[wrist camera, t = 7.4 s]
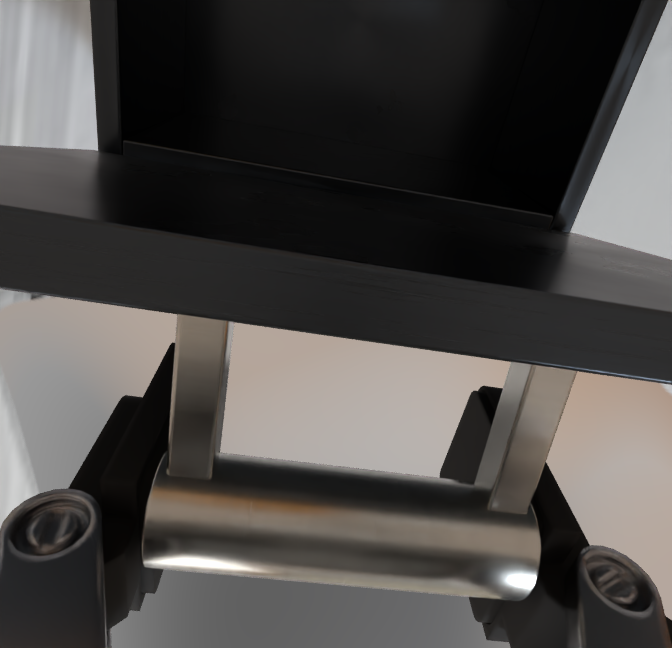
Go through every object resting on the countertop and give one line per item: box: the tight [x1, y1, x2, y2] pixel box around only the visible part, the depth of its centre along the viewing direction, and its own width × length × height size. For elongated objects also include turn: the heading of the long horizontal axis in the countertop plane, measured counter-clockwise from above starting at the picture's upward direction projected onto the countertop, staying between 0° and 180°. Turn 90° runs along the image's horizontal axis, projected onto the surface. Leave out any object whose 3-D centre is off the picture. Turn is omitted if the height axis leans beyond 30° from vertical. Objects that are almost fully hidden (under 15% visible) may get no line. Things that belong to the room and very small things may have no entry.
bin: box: [90, 0, 668, 233], centre depth 18 cm, size 12×17×9 cm
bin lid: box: [0, 145, 672, 601], centre depth 11 cm, size 12×17×6 cm
